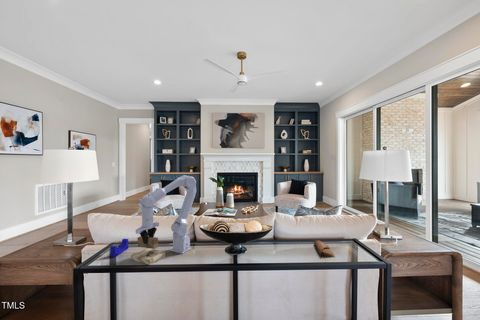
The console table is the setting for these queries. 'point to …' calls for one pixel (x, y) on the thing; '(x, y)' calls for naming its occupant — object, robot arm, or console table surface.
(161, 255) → the cutout board
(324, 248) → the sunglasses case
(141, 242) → the walnut bar
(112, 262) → the console table surface
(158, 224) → the robot arm
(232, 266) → the console table surface
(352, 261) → the console table surface
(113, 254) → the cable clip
